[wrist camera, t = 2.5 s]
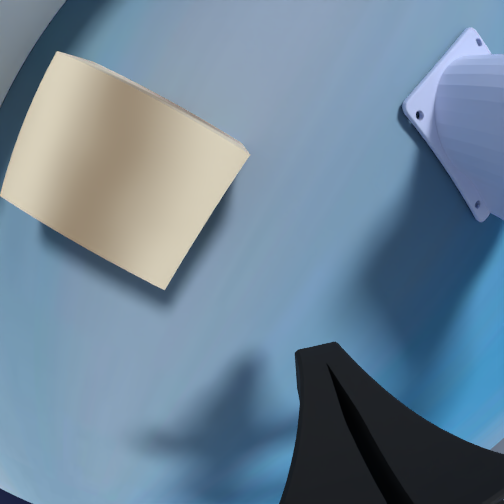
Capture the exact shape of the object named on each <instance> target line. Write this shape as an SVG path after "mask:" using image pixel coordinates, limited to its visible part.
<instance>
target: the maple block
mask: <svg viewBox="0 0 504 504" xmlns="http://www.w3.org/2000/svg"><path fill="white" fill-rule="evenodd" d="M249 156H250V154H249V152H248V151H247V150H246V148H245V147H244V146H243V144H242V143H241V142H239V141H237V140H236V139H234V138H233V137H231V136H229V135H228V134H226V133H224V132H223V131H221V130H219V129H218V128H216V127H214V126H213V125H211V124H209V123H208V122H206V121H204V120H203V119H201V118H199V117H197V116H196V115H194V114H192V113H190V112H189V111H187V110H185V109H183V108H182V107H180V106H178V105H176V104H174V103H173V102H171V101H169V100H167V99H165V98H164V97H162V96H160V95H158V94H156V93H154V92H152V91H151V90H149V89H147V88H145V87H143V86H141V85H139V84H137V83H135V82H133V81H131V80H129V79H127V78H125V77H123V76H121V75H119V74H117V73H115V72H113V71H111V70H109V69H107V68H105V67H103V66H101V65H99V64H97V63H95V62H92V61H89V60H86V59H82V58H79V57H76V56H73V55H69V54H66V53H62V52H59V51H57V52H56V54H55V56H54V58H53V60H52V61H51V63H50V65H49V67H48V69H47V71H46V73H45V75H44V77H43V79H42V81H41V83H40V85H39V87H38V90H37V92H36V94H35V96H34V98H33V101H32V103H31V105H30V108H29V110H28V112H27V115H26V117H25V120H24V122H23V125H22V127H21V130H20V133H19V135H18V138H17V141H16V144H15V147H14V150H13V153H12V156H11V159H10V162H9V165H8V168H7V172H6V175H5V179H4V182H3V186H2V190H1V194H0V196H1V197H3V198H4V199H6V200H7V201H9V202H10V203H12V204H13V205H15V206H16V207H18V208H20V209H21V210H23V211H24V212H26V213H28V214H29V215H31V216H32V217H34V218H36V219H37V220H39V221H40V222H42V223H44V224H45V225H47V226H49V227H50V228H52V229H54V230H55V231H57V232H59V233H60V234H62V235H64V236H66V237H67V238H69V239H71V240H72V241H74V242H76V243H78V244H79V245H81V246H83V247H85V248H86V249H88V250H90V251H92V252H93V253H95V254H97V255H99V256H101V257H102V258H104V259H106V260H108V261H110V262H112V263H113V264H115V265H117V266H119V267H121V268H123V269H124V270H126V271H128V272H130V273H132V274H134V275H136V276H138V277H140V278H142V279H143V280H145V281H147V282H149V283H151V284H153V285H155V286H157V287H159V288H161V289H163V290H165V289H166V287H167V285H168V284H169V282H170V280H171V279H172V277H173V275H174V274H175V272H176V270H177V269H178V267H179V265H180V264H181V262H182V260H183V259H184V257H185V255H186V254H187V252H188V250H189V249H190V247H191V246H192V244H193V242H194V241H195V239H196V237H197V236H198V234H199V233H200V231H201V229H202V228H203V226H204V225H205V223H206V222H207V220H208V218H209V217H210V215H211V214H212V212H213V210H214V209H215V207H216V206H217V204H218V203H219V201H220V200H221V198H222V197H223V195H224V193H225V192H226V190H227V189H228V187H229V186H230V184H231V183H232V181H233V180H234V178H235V177H236V175H237V174H238V172H239V171H240V169H241V168H242V166H243V165H244V163H245V162H246V160H247V159H248V157H249Z"/></svg>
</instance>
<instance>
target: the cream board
mask: <svg viewBox="0 0 504 504" xmlns="http://www.w3.org/2000/svg"><path fill="white" fill-rule="evenodd" d="M65 2H66V0H0V107H1V104H2V102H3V100H4V98H5V96H6V94H7V92H8V90H9V88H10V86H11V85H12V83H13V81H14V79H15V77H16V75H17V73H18V72H19V70H20V68H21V66H22V65H23V63H24V61H25V60H26V58H27V56H28V55H29V53H30V51H31V50H32V48H33V47H34V45H35V44H36V42H37V40H38V39H39V37H40V36H41V34H42V33H43V31H44V30H45V29H46V27H47V26H48V24H49V23H50V21H51V20H52V19H53V17H54V16H55V15H56V13H57V12H58V11H59V9H60V8H61V7H62V5H63V4H64V3H65Z"/></svg>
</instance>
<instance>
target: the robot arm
mask: <svg viewBox="0 0 504 504" xmlns="http://www.w3.org/2000/svg"><path fill="white" fill-rule="evenodd" d="M476 41H477V43H476ZM477 44H478V45H477ZM402 108H403V112H404V114H405V115H406V116H407V117H408V119H409V120H410V121H411V122H412V124H413V125H414V126H415V128H416V129H417V130H418V132H419V133H420V134H421V135H422V137H423V138H424V139H425V141H426V142H427V144H428V145H429V146H430V148H431V149H432V150H433V152H434V153H435V155H436V156H437V158H438V159H439V160H440V162H441V163H442V165H443V166H444V168H445V169H446V171H447V172H448V174H449V175H450V177H451V178H452V180H453V182H454V183H455V185H456V186H457V188H458V190H459V191H460V193H461V194H462V196H463V198H464V199H465V201H466V203H467V205H468V206H469V208H470V210H471V211H472V213H473V215H474V217H475V219H476V220H478V221H479V222H483V221H485V220H486V218H487V217H488V216H489V214H490V213H492V214H493V215H495V216H497V217H499V218H501V219H502V220H504V54H491V52H490V51H489V49H488V47H487V46H486V44H485V43H484V41H483V40H482V38H481V37H480V35H479V34H478V32H477V31H476V30H475V29H474V28H466V29H465V30H464V31H463V33H462V34H461V35H460V36H459V37H458V39H457V40H456V41H455V42H454V43H453V44H452V46H451V47H450V48H449V49H448V50H447V52H446V53H445V54H444V55H443V56H442V57H441V59H440V60H439V61H438V62H437V63H436V64H435V66H434V67H433V68H432V69H431V70H430V71H429V73H428V74H427V75H426V76H425V77H424V78H423V80H422V81H421V82H420V83H419V84H418V85H417V86H416V88H415V89H414V90H413V91H412V92H411V93H410V95H409V96H408V97H407V98H406V99H405V100H404V102H403V105H402ZM417 111H418V112H419V114H420V117H419V119H417V118H416V112H417ZM475 203H476V205H475ZM295 363H296V377H297V390H298V394H299V400H300V410H299V419H298V429H297V436H296V442H295V447H294V452H293V457H292V462H291V466H290V470H289V474H288V478H287V481H286V485H285V488H284V491H283V494H282V497H281V500H280V503H279V504H504V500H503V499H504V454H501V453H497V452H494V451H491V450H488V449H485V448H482V447H480V446H477V445H475V444H472V443H470V442H467V441H465V440H463V439H461V438H459V437H457V436H455V435H453V434H451V433H449V432H447V431H445V430H443V429H441V428H439V427H437V426H436V425H434V424H432V423H431V422H429V421H427V420H426V419H424V418H422V417H421V416H419V415H418V414H416V413H415V412H413V411H412V410H411V409H409V408H408V407H406V406H405V405H404V404H402V403H401V402H400V401H399V400H397V399H396V398H395V397H393V396H392V395H391V394H390V393H389V392H387V391H386V390H385V389H384V388H383V387H381V386H380V385H379V384H378V383H377V382H376V381H375V380H374V379H373V378H372V377H370V376H369V375H368V374H367V373H366V372H365V371H364V370H363V369H362V368H361V367H360V366H359V365H358V364H357V363H356V362H355V361H354V360H353V359H352V358H351V357H350V356H349V355H348V354H347V353H346V352H345V350H344V349H343V348H342V347H341V346H340V345H339V344H338V343H337V342H331V343H327V344H322V345H318V346H313V347H309V348H304V349H299V350H297V351H296V352H295Z"/></svg>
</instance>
